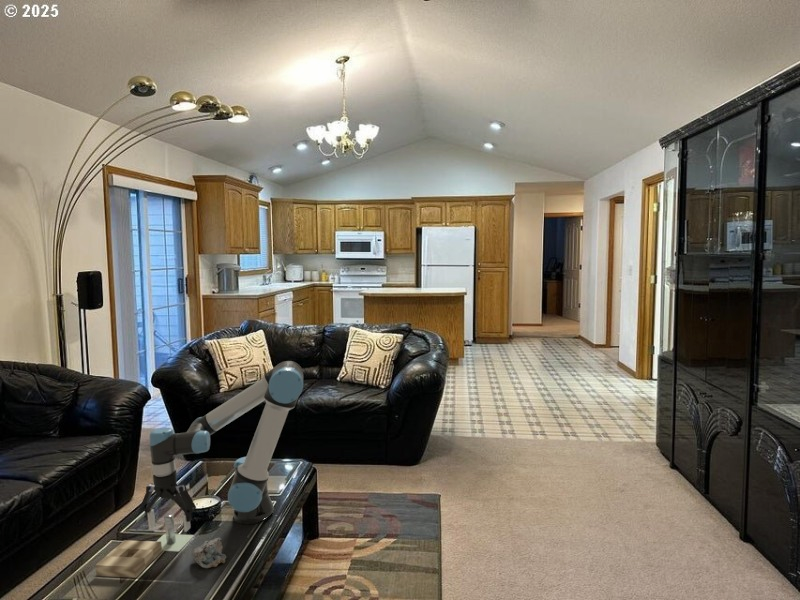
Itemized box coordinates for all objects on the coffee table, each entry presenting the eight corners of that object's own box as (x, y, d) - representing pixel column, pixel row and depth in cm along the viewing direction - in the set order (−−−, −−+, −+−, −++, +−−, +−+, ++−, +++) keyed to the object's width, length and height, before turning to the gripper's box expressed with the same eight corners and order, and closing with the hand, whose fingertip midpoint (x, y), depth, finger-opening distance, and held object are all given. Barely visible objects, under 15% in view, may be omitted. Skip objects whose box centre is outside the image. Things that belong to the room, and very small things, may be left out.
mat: (194, 536, 186) (194, 535, 186) (178, 552, 176) (178, 551, 176) (164, 534, 188) (164, 533, 188) (147, 551, 178) (147, 549, 178)
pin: (177, 540, 183) (175, 513, 182) (172, 544, 180) (170, 518, 179) (169, 539, 184) (167, 513, 183) (164, 544, 181) (162, 517, 180)
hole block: (162, 552, 177) (161, 541, 176) (136, 578, 163) (134, 566, 162) (125, 550, 179) (124, 540, 178) (96, 576, 165) (95, 565, 164)
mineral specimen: (209, 582, 167) (220, 556, 177) (224, 569, 165) (233, 544, 174) (185, 567, 165) (197, 541, 174) (199, 554, 163) (211, 529, 172)
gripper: (203, 468, 181) (207, 524, 183) (139, 466, 185) (144, 522, 187) (191, 477, 174) (196, 536, 176) (125, 476, 177) (131, 533, 179)
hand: (169, 529), depth 181 cm, fingers open, 13 cm apart
